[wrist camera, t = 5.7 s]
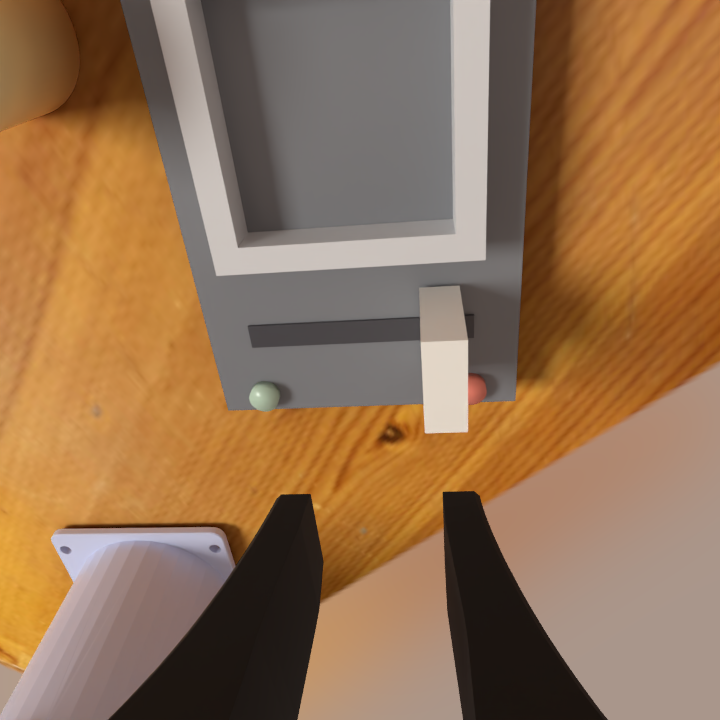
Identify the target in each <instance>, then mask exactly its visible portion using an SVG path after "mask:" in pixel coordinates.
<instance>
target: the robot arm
mask: <svg viewBox="0 0 720 720" xmlns="http://www.w3.org/2000/svg"><path fill="white" fill-rule="evenodd" d="M443 517H444V550H445V573H446V593H447V611H448V618H449V625H450V631H451V639H452V646H453V653H454V660H455V667H456V673H457V680H458V687H459V694H460V701H461V708H462V714H463V720H608V719H607V718H606V717H605V716H604V714H603V713H602V712H601V711H600V709H599V708H598V707H597V705H596V704H595V703H594V702H593V700H592V699H591V697H590V696H589V695H588V693H587V692H586V690H585V689H584V688H583V687H582V685H581V684H580V682H579V681H578V680H577V678H576V677H575V675H574V674H573V672H572V671H571V670H570V668H569V667H568V665H567V664H566V662H565V661H564V659H563V658H562V657H561V655H560V654H559V652H558V651H557V649H556V647H555V646H554V644H553V643H552V641H551V640H550V638H549V637H548V635H547V634H546V632H545V630H544V629H543V627H542V625H541V624H540V623H539V620H538V619H537V617H536V615H535V614H534V612H533V611H532V609H531V607H530V606H529V604H528V602H527V600H526V598H525V597H524V595H523V593H522V591H521V590H520V588H519V586H518V584H517V582H516V580H515V578H514V576H513V574H512V573H511V571H510V569H509V567H508V565H507V563H506V561H505V559H504V557H503V555H502V553H501V551H500V549H499V546H498V544H497V542H496V540H495V537H494V535H493V533H492V531H491V528H490V526H489V523H488V521H487V518H486V516H485V513H484V509H483V506H482V503H481V500H480V496H479V495H478V494H477V493H476V492H474V491H464V492H443ZM51 540H52V543H53V545H54V547H55V548H56V550H57V552H58V554H59V556H60V558H61V560H62V561H63V563H64V565H65V567H66V569H67V571H68V573H69V574H70V576H71V578H72V580H73V582H74V583H73V585H72V587H71V588H70V590H69V592H68V594H67V596H66V597H65V599H64V601H63V603H62V605H61V606H60V608H59V610H58V612H57V614H56V615H55V617H54V619H53V621H52V623H51V624H50V626H49V628H48V630H47V632H46V633H45V635H44V637H43V639H42V641H41V642H40V644H39V646H38V648H37V650H36V651H35V653H34V655H33V657H32V659H31V660H30V662H29V664H28V666H27V668H26V670H25V671H24V673H23V675H22V677H21V679H20V680H19V682H18V684H17V686H16V688H15V689H14V691H13V693H12V695H11V697H10V698H9V701H8V702H7V704H6V706H5V707H4V709H3V711H2V713H1V715H0V720H297V719H298V714H299V709H300V704H301V698H302V694H303V688H304V684H305V679H306V674H307V669H308V663H309V659H310V654H311V649H312V644H313V639H314V634H315V629H316V624H317V619H318V613H319V606H320V595H321V584H322V572H323V557H322V552H321V546H320V541H319V536H318V531H317V525H316V520H315V515H314V510H313V504H312V499H311V494H289V495H280V496H279V497H278V498H277V499H276V501H275V503H274V505H273V507H272V508H271V510H270V512H269V514H268V515H267V517H266V519H265V521H264V522H263V524H262V526H261V527H260V529H259V531H258V532H257V534H256V535H255V537H254V539H253V540H252V542H251V543H250V545H249V547H248V548H247V550H246V551H245V553H244V554H243V556H242V557H241V559H240V560H239V562H238V563H237V565H236V566H235V563H234V560H233V556H232V553H231V550H230V547H229V544H228V540H227V537H226V534H225V533H224V531H222V530H221V529H219V528H217V527H167V528H78V529H58V530H56V531H55V533H54V534H53V536H52V538H51Z"/></svg>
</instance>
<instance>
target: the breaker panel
mask: <svg viewBox="0 0 720 720" xmlns="http://www.w3.org/2000/svg"><path fill="white" fill-rule="evenodd" d="M120 1H121V5H122V9H123V13H124V17H125V20H126V24H127V28H128V32H129V35H130V39H131V43H132V47H133V51H134V54H135V58H136V62H137V66H138V70H139V73H140V77H141V81H142V85H143V89H144V92H145V96H146V100H147V104H148V107H149V111H150V115H151V119H152V123H153V126H154V130H155V134H156V138H157V142H158V145H159V149H160V153H161V157H162V161H163V164H164V168H165V172H166V176H167V179H168V183H169V187H170V191H171V195H172V198H173V202H174V206H175V210H176V214H177V217H178V221H179V225H180V229H181V232H182V236H183V240H184V244H185V248H186V251H187V255H188V259H189V263H190V267H191V270H192V274H193V278H194V282H195V286H196V289H197V293H198V297H199V301H200V304H201V308H202V312H203V316H204V320H205V323H206V327H207V331H208V335H209V339H210V342H211V346H212V350H213V354H214V357H215V361H216V365H217V369H218V373H219V376H220V380H221V384H222V388H223V392H224V395H225V399H226V403H227V407H228V410H255V409H258V410H260V411H271V410H273V409H285V408H315V407H345V406H375V405H405V404H424V403H423V382H422V361H421V338H420V300H419V288H423V287H441V286H459V285H460V292H461V298H462V305H463V311H464V317H465V324H466V330H467V337H468V405H473V404H477V403H479V402H495V401H515V396H516V377H517V358H518V339H519V320H520V301H521V282H522V263H523V244H524V225H525V206H526V187H527V168H528V149H529V130H530V112H531V93H532V74H533V55H534V36H535V17H536V0H120Z"/></svg>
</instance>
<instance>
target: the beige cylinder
mask: <svg viewBox="0 0 720 720" xmlns="http://www.w3.org/2000/svg"><path fill="white" fill-rule="evenodd" d="M79 67H80V53H79V45H78V40H77V36H76V32H75V29H74V27H73V24H72V21H71V19H70V17H69V15H68V13H67V11H66V9H65V7H64V6H63V4H62V2H61V1H60V0H0V132H1V131H3V130H6V129H9V128H11V127H14V126H16V125H19V124H22V123H24V122H27V121H30V120H32V119H35V118H37V117H40V116H43V115H45V114H48V113H51V112H52V111H54V110H56V109H58V108H59V107H60V106H61V105H63V104H64V103H65V102H66V100H67V99H68V98H69V97H70V95H71V93H72V92H73V90H74V88H75V85H76V83H77V79H78V75H79Z"/></svg>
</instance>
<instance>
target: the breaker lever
mask: <svg viewBox="0 0 720 720" xmlns="http://www.w3.org/2000/svg"><path fill="white" fill-rule="evenodd" d="M419 300H420V338H421V361H422V382H423V403H424V424H425V433H452V432H468V337H467V330H466V324H465V317H464V311H463V305H462V298H461V292H460V285H459V286H441V287H423V288H419Z"/></svg>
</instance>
